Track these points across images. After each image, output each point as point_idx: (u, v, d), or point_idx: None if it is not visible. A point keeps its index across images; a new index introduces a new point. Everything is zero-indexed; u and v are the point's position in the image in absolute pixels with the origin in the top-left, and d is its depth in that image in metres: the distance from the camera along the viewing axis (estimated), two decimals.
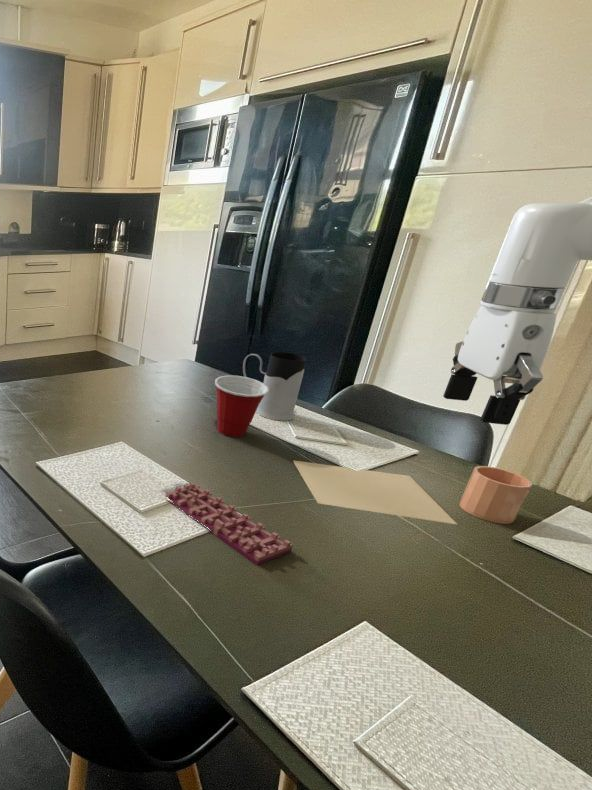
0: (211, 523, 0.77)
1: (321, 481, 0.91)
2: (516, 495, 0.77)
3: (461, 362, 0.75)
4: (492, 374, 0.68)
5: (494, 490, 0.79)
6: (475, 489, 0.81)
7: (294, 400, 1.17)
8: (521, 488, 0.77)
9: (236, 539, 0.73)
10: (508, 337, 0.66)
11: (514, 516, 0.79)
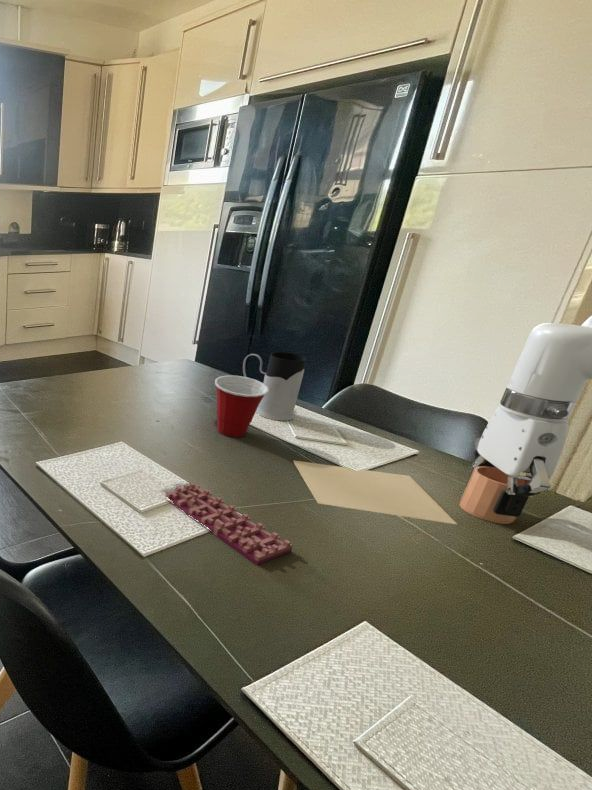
0: (211, 523, 0.77)
1: (321, 481, 0.91)
2: None
3: (480, 453, 0.82)
4: (510, 472, 0.76)
5: (494, 490, 0.79)
6: (475, 489, 0.81)
7: (294, 400, 1.17)
8: None
9: (236, 539, 0.73)
10: (525, 442, 0.74)
11: None
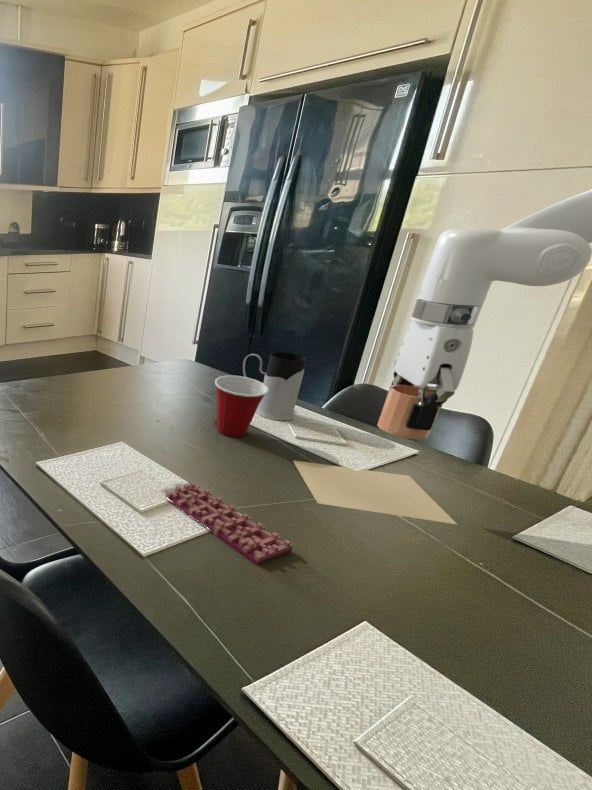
0: (211, 523, 0.77)
1: (321, 481, 0.91)
2: None
3: (397, 371, 0.82)
4: (419, 383, 0.75)
5: (406, 404, 0.78)
6: (389, 406, 0.80)
7: (294, 400, 1.17)
8: None
9: (236, 539, 0.73)
10: (432, 350, 0.73)
11: (427, 431, 0.78)
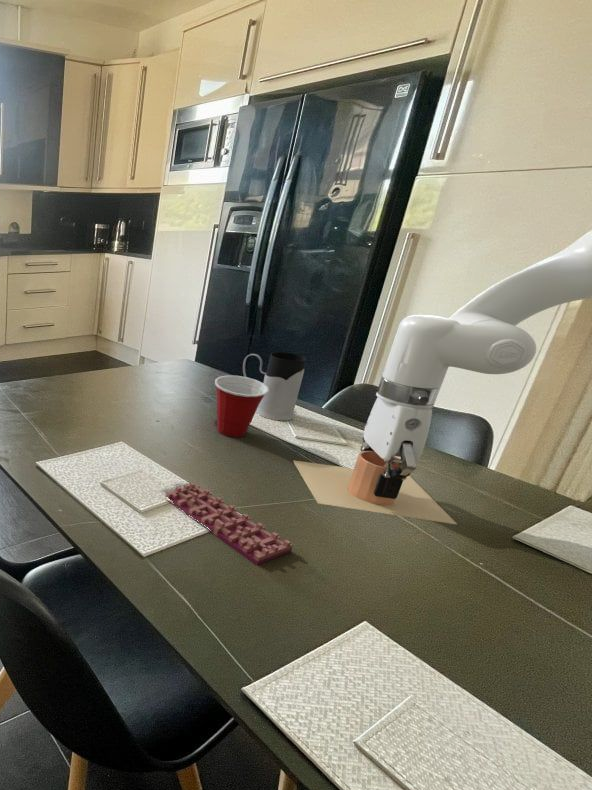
0: (211, 523, 0.77)
1: (321, 481, 0.91)
2: None
3: (365, 439, 0.87)
4: (384, 456, 0.80)
5: (372, 472, 0.83)
6: (358, 472, 0.85)
7: (294, 400, 1.17)
8: None
9: (236, 539, 0.73)
10: (394, 427, 0.78)
11: None
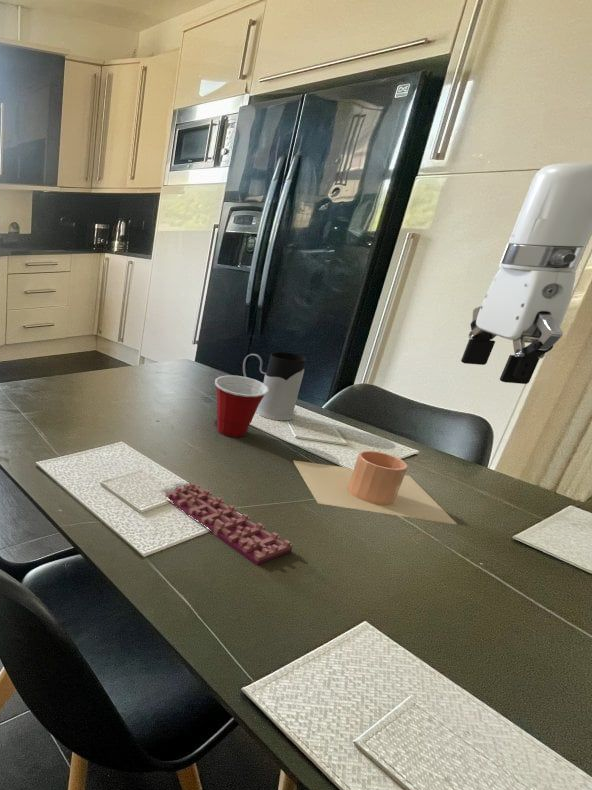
0: (211, 523, 0.77)
1: (321, 481, 0.91)
2: (391, 477, 0.82)
3: (479, 325, 0.76)
4: (511, 334, 0.70)
5: (372, 472, 0.83)
6: (358, 472, 0.85)
7: (294, 400, 1.17)
8: (395, 470, 0.81)
9: (236, 539, 0.73)
10: (528, 296, 0.68)
11: (392, 497, 0.83)
